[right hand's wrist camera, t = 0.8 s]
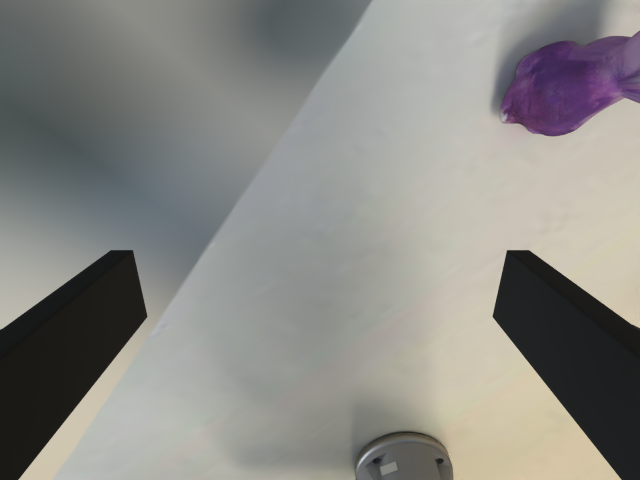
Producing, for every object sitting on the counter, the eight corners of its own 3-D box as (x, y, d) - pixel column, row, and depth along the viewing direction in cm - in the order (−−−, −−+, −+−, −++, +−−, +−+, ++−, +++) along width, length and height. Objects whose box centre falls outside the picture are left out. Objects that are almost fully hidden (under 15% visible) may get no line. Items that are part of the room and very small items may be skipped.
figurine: (619, 37, 34) (827, -6, 20) (567, 143, 38) (713, 168, 24) (529, 11, 33) (681, -52, 19) (486, 122, 37) (587, 135, 23)
